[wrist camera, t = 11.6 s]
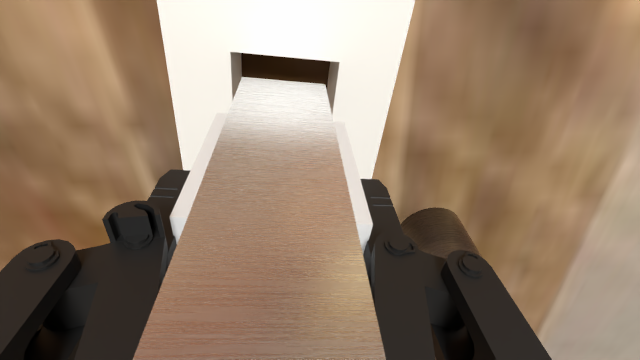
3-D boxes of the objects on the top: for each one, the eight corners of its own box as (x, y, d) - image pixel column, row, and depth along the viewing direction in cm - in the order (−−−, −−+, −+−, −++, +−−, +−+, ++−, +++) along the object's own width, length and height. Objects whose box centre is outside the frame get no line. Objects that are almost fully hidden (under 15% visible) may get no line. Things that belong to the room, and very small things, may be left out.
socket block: (357, 164, 26) (367, 196, 23) (200, 155, 24) (186, 187, 21) (394, -10, 19) (415, 0, 16) (178, -36, 18) (151, -32, 14)
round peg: (447, 254, 33) (528, 418, 22) (389, 253, 32) (442, 421, 21) (470, 209, 29) (580, 375, 18) (405, 206, 29) (478, 377, 17)
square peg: (316, 154, 18) (353, 492, 7) (243, 149, 18) (157, 505, 7) (325, 84, 16) (400, 421, 5) (241, 76, 16) (104, 431, 4)
